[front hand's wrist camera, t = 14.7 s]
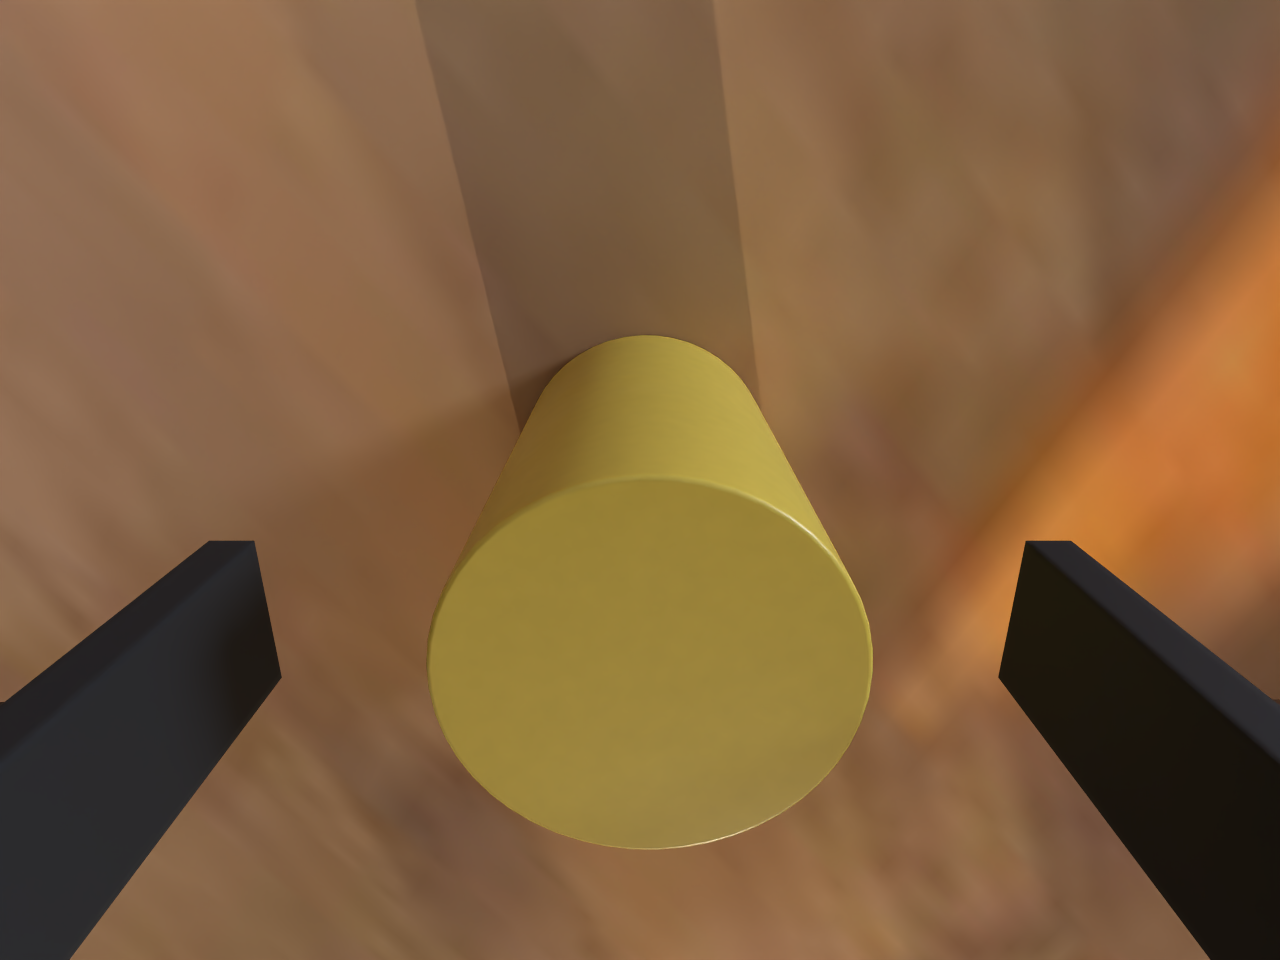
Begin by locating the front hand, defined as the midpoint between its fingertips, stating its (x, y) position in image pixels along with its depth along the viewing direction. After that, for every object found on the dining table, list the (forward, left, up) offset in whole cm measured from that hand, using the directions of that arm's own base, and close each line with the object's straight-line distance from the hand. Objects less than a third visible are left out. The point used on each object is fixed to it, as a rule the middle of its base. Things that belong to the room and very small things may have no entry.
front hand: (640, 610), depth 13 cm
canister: (0, 0, -8) cm, 8 cm away
